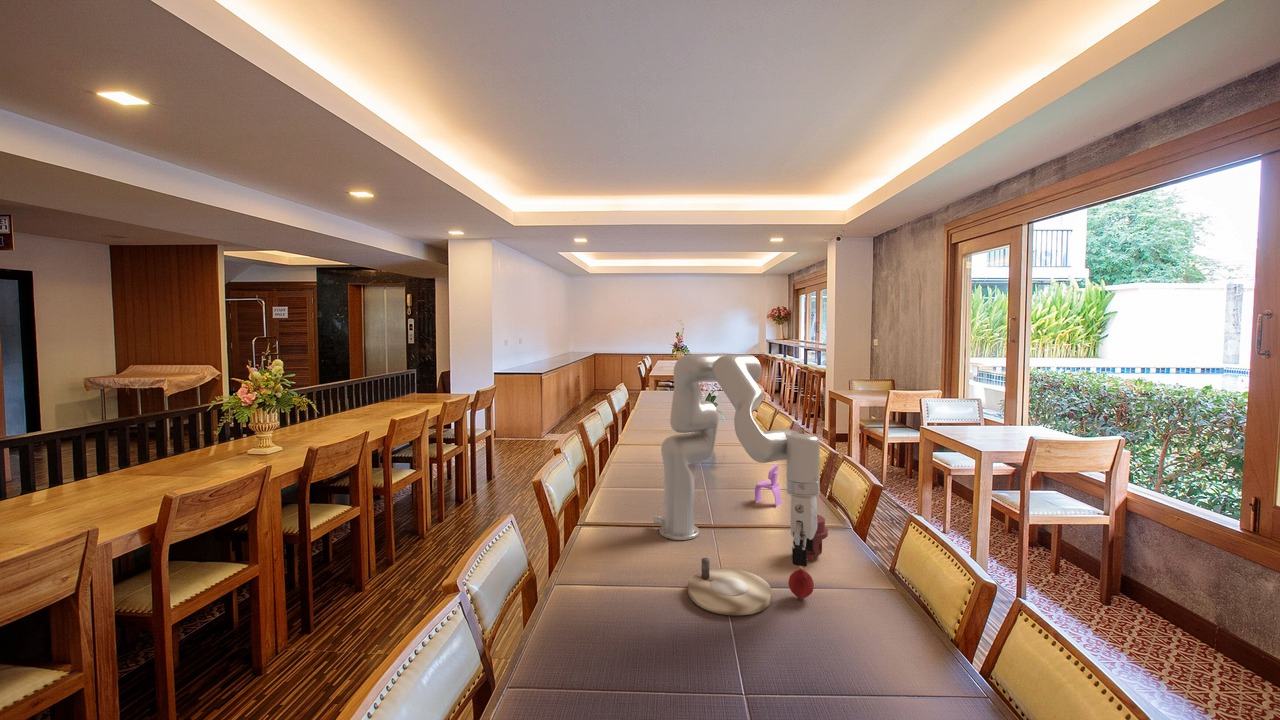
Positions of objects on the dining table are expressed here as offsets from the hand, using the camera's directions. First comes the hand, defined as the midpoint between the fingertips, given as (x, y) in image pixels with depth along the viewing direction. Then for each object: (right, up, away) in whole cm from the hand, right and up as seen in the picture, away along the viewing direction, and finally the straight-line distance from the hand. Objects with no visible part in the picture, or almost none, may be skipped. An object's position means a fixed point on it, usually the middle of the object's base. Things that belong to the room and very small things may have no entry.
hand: (803, 557), depth 127 cm
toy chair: (+9, -7, +72) cm, 73 cm away
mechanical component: (+9, -9, +25) cm, 28 cm away
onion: (0, -11, +1) cm, 11 cm away
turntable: (-17, -10, +3) cm, 20 cm away
